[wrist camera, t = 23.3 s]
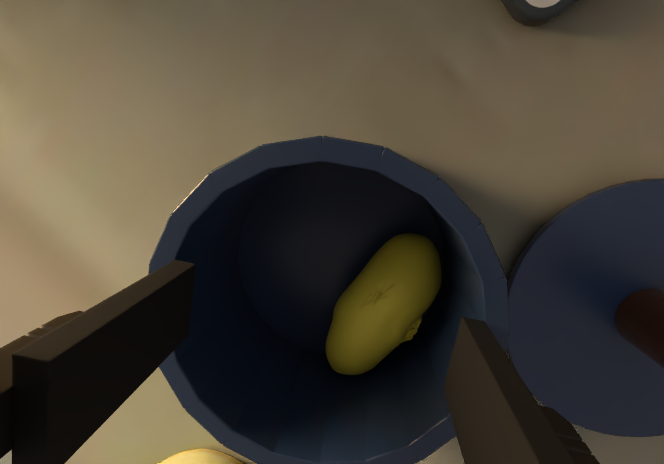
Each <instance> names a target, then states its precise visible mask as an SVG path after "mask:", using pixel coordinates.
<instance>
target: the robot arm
mask: <svg viewBox="0 0 664 464" xmlns="http://www.w3.org/2000/svg"><path fill="white" fill-rule="evenodd" d="M195 268H196V264H194V263H189V262H184V261H179V260H174V261H172V262H170V263H168V264H167V265H165V266H163V267H161V268H160V269H158V270H156V271H154V272H153V273H151V274H149V275H147V276H146V277H144V278H142V279H141V280H139V281H137V282H135V283H134V284H132V285H130V286H128V287H127V288H125V289H123V290H121V291H120V292H118V293H116V294H114V295H113V296H111V297H109V298H107V299H106V300H104V301H102V302H101V303H99V304H97V305H95V306H94V307H92V308H90V309H88V310H87V311H85V312H82V311H77V312H73V313H70V314H66V315H63V316H60V317H57V318H55V319H53V320H51V321H50V322H48V323H46V324H44V325H42V326H41V328H37V329H35V330H33V331H31V332H29V333H28V334H27V336H25V335H24V336H22V337H20V338H18V339H16V340H15V341H13V342H11V343H9V344H7V345H5V346H4V347H2V348H0V459H1V458H2V457H3V456H4V455H5V454H7V453H8V452H9V451H10V450H11V449H12V464H64V463H65V462H66V461H67V460H68V459H69V458H70V457H71V456H72V455H73V454H74V453H75V452H76V451H77V450H78V449H79V448H80V447H81V446H82V445H83V444H84V443H85V442H86V441H87V440H88V439H89V438H90V437H91V436H92V434H93V433H94V432H95V431H96V430H97V429H98V428H99V427H100V426H101V425H102V424H103V423H104V422H105V421H106V420H107V419H108V418H109V417H110V416H111V415H112V414H113V413H114V412H115V411H116V410H117V409H118V408H119V407H120V406H121V405H122V404H123V403H124V402H125V400H126V399H127V398H128V397H129V396H130V395H131V394H132V393H133V392H134V391H135V390H136V389H137V388H138V387H139V386H140V385H141V384H142V383H143V382H144V381H145V380H146V379H147V378H148V377H149V376H150V375H151V374H152V373H153V372H154V371H155V370H156V369H157V368H158V367H159V365H160V364H161V363H162V362H163V361H164V360H165V359H166V358H167V357H168V356H169V355H170V354H171V353H172V352H173V351H174V350H175V349H176V348H177V347H178V346H179V345H180V344H181V343H182V342H183V341H184V340H185V339H186V338H187V337H188V336H189V326H190V317H191V307H192V297H193V287H194V278H195ZM443 391H444V394H445V397H446V401H447V404H448V408H449V411H450V415H451V418H452V421H453V425H454V428H455V432H456V435H457V438H458V442H459V445H460V449H461V452H462V456H463V459H464V462H465V464H600V463H599V462H598V461H597V459H596V458H595V456H593V455H591V451H590V450H589V448H588V447H587V445H586V444H585V443H584V442H582V438H581V437H580V436H579V434H578V433H577V431H576V430H575V429H574V427H573V426H572V424H571V423H570V422H569V421H567V420H566V419H565V418H564V417H563V416H562V415H560V414H559V413H558V412H557V411H556V410H554V409H553V408H549V407H544V406H539V405H538V403H537V402H536V400H535V399H534V397H533V396H532V394H531V392H530V391H529V389H528V388H527V386H526V385H525V383H524V382H523V380H522V378H521V377H520V375H519V374H518V372H517V371H516V369H515V368H514V366H513V365H512V363H511V361H510V360H509V358H508V357H507V355H506V354H505V352H504V351H503V349H502V347H501V346H500V344H499V343H498V341H497V340H496V338H495V337H494V335H493V333H492V332H491V330H490V329H489V327H488V326H487V324H486V323H485V321H481V320H476V319H471V318H466V317H462V318H461V321H460V325H459V329H458V333H457V337H456V341H455V344H454V348H453V352H452V356H451V360H450V364H449V367H448V371H447V375H446V379H445V383H444V387H443Z"/></svg>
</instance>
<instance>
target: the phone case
mask: <svg viewBox="0 0 664 464" xmlns="http://www.w3.org/2000/svg"><path fill="white" fill-rule="evenodd" d="M577 1H578V0H502V2H503V3H504V5H505V7H506V8H507V10H508V11H509V13H510V15H511V16H512V17H513V19H515V20H516V21H517V22H519V23H521V24H523V25H527V26H537V25H541V24H544V23H546V22H548V21H550V20H551V19H553V18H554V17H556V16H558V15H559V14H560V13H562V12H563V11H565V10H566V9H567V8H569V7H570V6H571V5H573V4H574V3H576V2H577Z"/></svg>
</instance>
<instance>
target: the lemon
mask: <svg viewBox="0 0 664 464" xmlns="http://www.w3.org/2000/svg"><path fill="white" fill-rule="evenodd" d="M441 280H442V274H441V263H440V258H439V252H438V251H437V249H436V247H435V246H434V244H433V243H432V241H431V240H430V239H428V238H427V237H425V236H422V235H419V234H415V233H403V234H399V235H396V236H394V237H393V238H391V239H390V240H388V241H387V242H386V243H385V244H384V245H383V246H382V247H381V248H380V249H379V250H378V251H377V252H376V253H375V254H374V256H373V257H372V258H371V259H370V261H369V262H368V263H367V265H366V266H365V267H364V269H363V270H362V271H361V272H360V274H359V275H358V276H357V277H356V279H355V280H354V281H353V282H352V283H351V284H350V285H349V287H348V288H347V289H346V290H345V291H344V292H343V294H342V295H341V296H340V298H339V299H338V301H337V303H336V305H335V307H334V311H333V319H332V323H331V326H330V329H329V332H328V335H327V339H326V345H325V349H326V356H327V359H328V362H329V364H330V366H331V367H332V369H333V370H334V371H336V372H337V373H340V374H344V375H359V374H363V373H365V372H367V371H369V370H371V369H373V368H374V367H375V366H376V365H377V364H378V363H379V362H380V361H381V360H382V359H384V358H385V357H386V356H387V355H388V354H389V353H390V352H392V350H393V349H394V348H396V347H397V346H398V345H399V344H400V343H402V342H404V341H408V340H411V339H412V338H413V335H414V334H416V333H417V328H419V325H420V323H421V320H422V315H423V314H424V313H425V312H426V310H427V309H428V308H429V307H430V305H431V304H432V302H433V301H434V299H435V297H436V295H437V293H438V291H439V289H440V287H441Z"/></svg>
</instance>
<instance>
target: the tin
mask: <svg viewBox="0 0 664 464" xmlns="http://www.w3.org/2000/svg"><path fill="white" fill-rule="evenodd" d="M403 233H415V234H419V235H422V236H425V237H427V238H428V239H430V240H431V241H432V243H433V244H434V246H435V247H436V249H437V251H438V252H439V258H440V263H441V274H442V280H441V287H440V289H439V291H438V293H437V295H436V297H435V299H434V301H433V302H432V304H431V305H430V307H429V308H428V309H427V310H426V312H425V313H424V314H423V315H422V320H421V323H420V325H419V328H417V333H416V334H414V335H413V338H412V339H411V340H408V341H404V342H402V343H400V344H399V345H398V346H397V347H396V348H394V349H393V350H392V352H390V353H389V354H388V355H387V356H386V357H385V358H384V359H382V360H381V361H380V362H379V363H378V364H377V365H376V366H375V367H374V368H373V369H371V370H369V371H367V372H365V373H363V374H359V375H344V374H340V373H337V372H336V371H334V370H333V369H332V367H331V366H330V364H329V362H328V359H327V356H326V349H325V345H326V339H327V335H328V332H329V329H330V326H331V323H332V319H333V311H334V307H335V305H336V303H337V301H338V299H339V298H340V296H341V295H342V294H343V292H344V291H345V290H346V289H347V288H348V287H349V285H350V284H351V283H352V282H353V281H354V280H355V279H356V277H357V276H358V275H359V274H360V272H361V271H362V270H363V269H364V267H365V266H366V265H367V263H368V262H369V261H370V259H371V258H372V257H373V256H374V254H375V253H376V252H377V251H378V250H379V249H380V248H381V247H382V246H383V245H384V244H385V243H386V242H387V241H388V240H390V239H391V238H393V237H394V236H396V235H399V234H403ZM174 260H179V261H184V262H189V263H194V264H196V268H195V278H194V287H193V297H192V307H191V317H190V326H189V336H188V337H187V338H186V339H185V340H184V341H183V342H182V343H181V344H180V345H179V346H178V347H177V348H176V349H175V350H174V351H173V352H172V353H171V354H170V355H169V356H168V357H167V358H166V359H165V360H164V361H163V362H162V363H161V364H160V365H159V368H160V369H161V371H162V373H163V374H164V376H165V378H166V380H167V381H168V383H169V385H170V386H171V388H172V390H173V391H174V393H175V395H176V396H177V398H178V400H179V401H180V403H181V405H182V407H183V408H186V409H185V410H186V411H187V412H188V413H189V414H190V415H191V416H192V417H193V418H194V419H195V420H196V421H197V422H198V423H199V424H200V425H201V426H203V427H204V428H205V429H206V430H207V431H208V432H209V433H210V434H211V435H212V436H213V437H214V438H215V439H216V440H217V441H218V442H219V443H221V444H223V445H224V446H225V447H227V448H229V449H231V450H233V451H234V452H236V453H238V454H240V455H242V456H244V457H246V458H248V459H250V460H251V461H253V462H255V463H257V464H415V463H418V462H419V461H420V460H424V459H425V458H426V457H428V456H429V455H430V454H432V453H433V452H435V451H436V450H437V449H439V448H440V447H441V446H443V445H444V444H446V443H447V442H448V441H450V440H451V439H452V438H454V437H455V436H457V435H456V432H455V428H454V425H453V421H452V418H451V415H450V411H449V408H448V404H447V401H446V397H445V394H444V391H443V387H444V383H445V379H446V375H447V371H448V367H449V364H450V360H451V356H452V352H453V348H454V344H455V341H456V337H457V333H458V329H459V325H460V321H461V318H462V317H466V318H471V319H476V320H481V321H485V323H486V324H487V326H488V327H489V329H490V330H491V332H492V333H493V335H494V337H495V338H496V340H497V341H498V343H499V344H500V346H501V347H502V349H503V351H504V352H505V351H506V348H507V344H508V341H509V337H510V322H509V307H508V291H507V279H506V277H505V273H504V270H503V268H502V266H501V264H500V261H499V259H498V257H497V254H496V252H495V250H494V248H493V245H492V243H491V241H490V238H489V236H488V234H487V231H486V229H485V227H484V225H483V224H482V223H481V220H480V219H479V218H478V217H477V216H476V215H475V214H474V212H473V211H472V210H471V209H470V208H469V207H468V206H467V205H466V204H465V203H464V202H463V201H462V200H461V198H460V197H459V196H458V195H457V194H456V193H455V192H454V191H453V190H452V189H451V188H450V187H449V186H448V184H447V183H446V182H445V181H444V180H443V179H442V178H440V177H439V176H438V175H436V174H434V173H433V172H431V171H429V170H427V169H425V168H423V167H422V166H420V165H418V164H416V163H414V162H412V161H410V160H409V159H407V158H405V157H403V156H401V155H399V154H398V153H396V152H394V151H392V150H390V149H388V148H384V147H383V146H379V145H373V144H368V143H362V142H356V141H351V140H345V139H339V138H334V137H328V136H315V137H309V138H302V139H296V140H289V141H283V142H276V143H269V144H263V145H262V146H258V147H256V148H254V149H252V150H250V151H248V152H247V153H245V154H243V155H241V156H239V157H237V158H235V159H233V160H231V161H229V162H227V163H226V164H224V165H222V166H220V167H218V168H216V169H214V170H212V171H211V172H210V173H209V174H207V175H206V176H205V177H204V178H203V180H202V181H201V182H200V183H199V184H198V185H197V186H196V187H195V188H194V189H193V190H192V191H191V192H190V193H189V195H188V196H187V197H186V198H185V199H184V200H183V201H182V202H181V203H180V204H179V205H178V206H177V207H176V209H175V210H174V211H173V213H172V214H171V215H170V217H169V219H168V221H167V224H166V226H165V228H164V231H163V233H162V235H161V237H160V240H159V242H158V244H157V247H156V249H155V251H154V254H153V256H152V258H151V260H150V264H149V274H151V273H153V272H154V271H156V270H158V269H160V268H161V267H163V266H165V265H167V264H168V263H170V262H172V261H174ZM149 274H148V275H149Z"/></svg>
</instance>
